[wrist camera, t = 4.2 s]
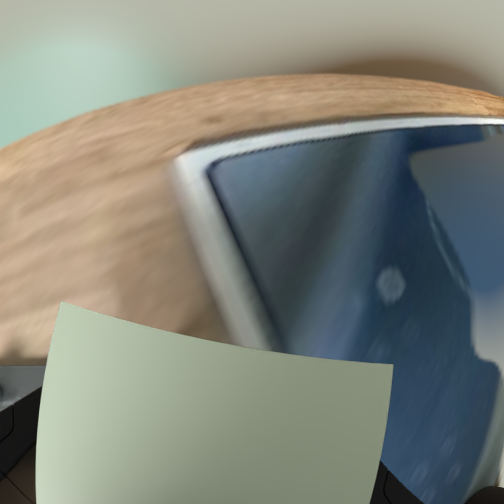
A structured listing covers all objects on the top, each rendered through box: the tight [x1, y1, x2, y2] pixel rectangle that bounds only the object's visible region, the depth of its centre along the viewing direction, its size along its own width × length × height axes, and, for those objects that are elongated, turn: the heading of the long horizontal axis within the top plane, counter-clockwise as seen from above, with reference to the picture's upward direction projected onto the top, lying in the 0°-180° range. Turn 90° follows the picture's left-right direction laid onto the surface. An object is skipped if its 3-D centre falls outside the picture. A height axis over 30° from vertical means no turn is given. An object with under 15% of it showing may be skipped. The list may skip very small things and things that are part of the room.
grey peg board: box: [0, 365, 46, 411], centre depth 9 cm, size 11×11×3 cm
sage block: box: [36, 301, 393, 504], centre depth 8 cm, size 4×4×12 cm
